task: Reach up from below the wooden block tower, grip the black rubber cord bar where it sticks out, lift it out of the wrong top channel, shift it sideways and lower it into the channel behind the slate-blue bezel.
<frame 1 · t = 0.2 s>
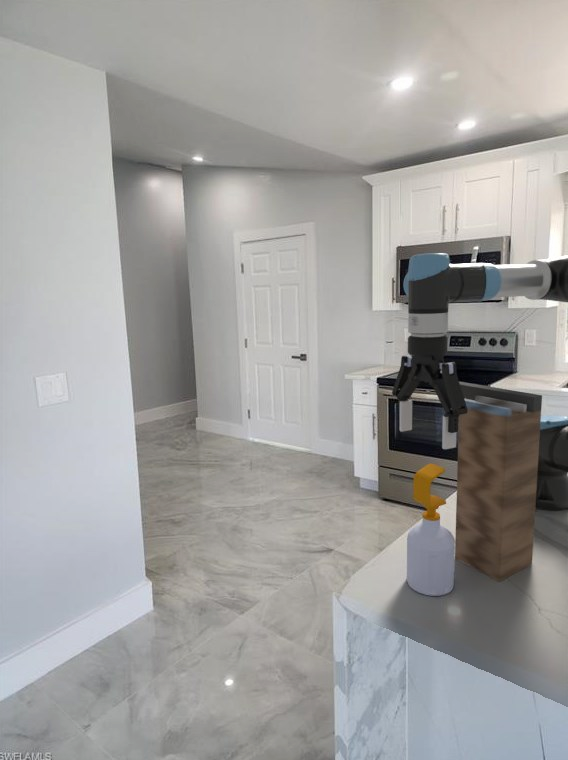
hand: (426, 438, 103), 28 cm above the counter, tool pointing down, fingers open, 13 cm apart
soap bottle: (429, 584, 101), on the counter
wooden block tower: (492, 560, 108), on the counter
cord bar: (490, 402, 107), point 34 cm above the counter, touching wooden block tower
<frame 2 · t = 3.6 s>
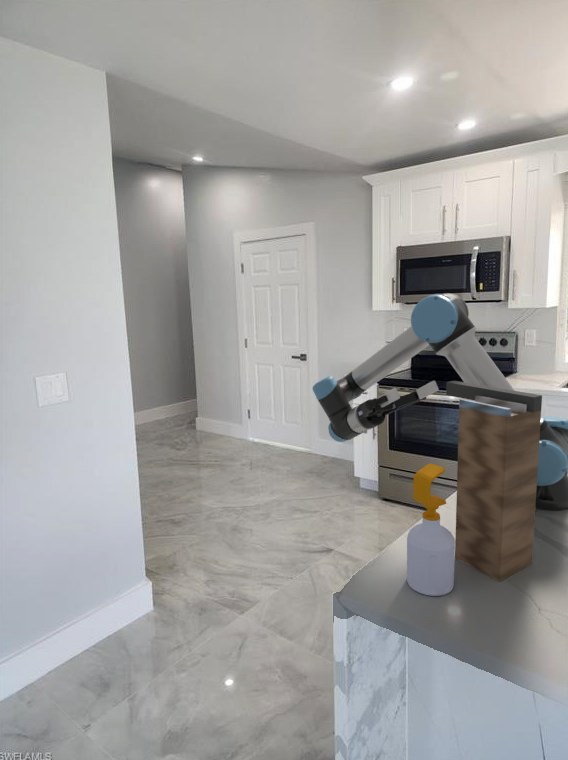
hand: (417, 389, 124), 34 cm above the counter, tool pointing upward, fingers open, 13 cm apart
nothing on the counter moved.
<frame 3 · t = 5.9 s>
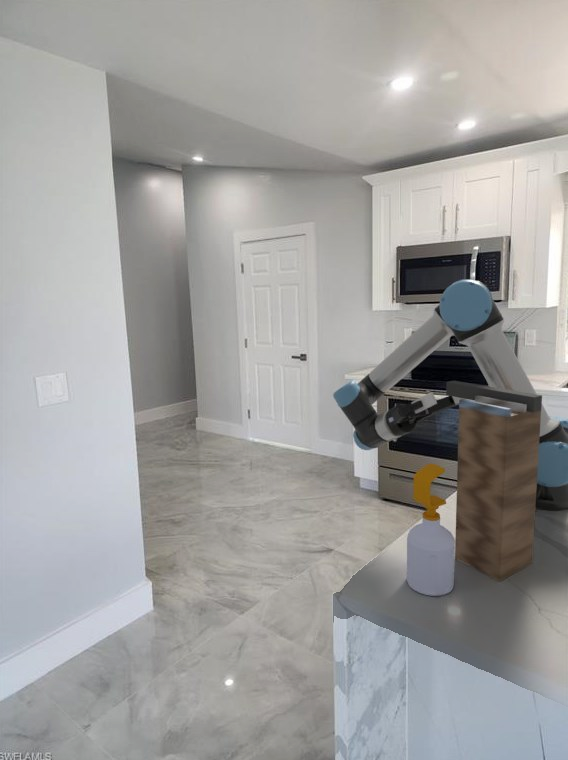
hand: (454, 393, 113), 35 cm above the counter, tool pointing upward, fingers open, 13 cm apart
nothing on the counter moved.
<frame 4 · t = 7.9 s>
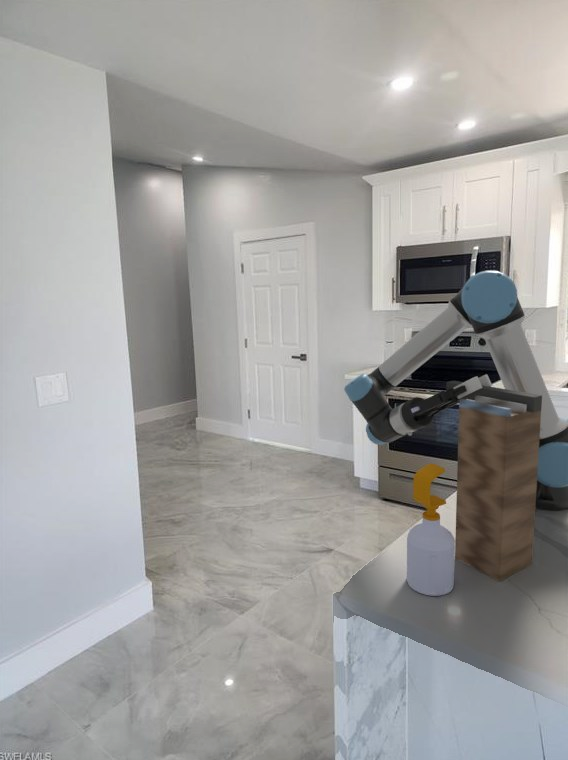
hand: (483, 381, 107), 38 cm above the counter, tool pointing upward, fingers closed on cord bar, 3 cm apart
cord bar: (490, 402, 107), point 34 cm above the counter, touching wooden block tower, gripper
everything else where it was.
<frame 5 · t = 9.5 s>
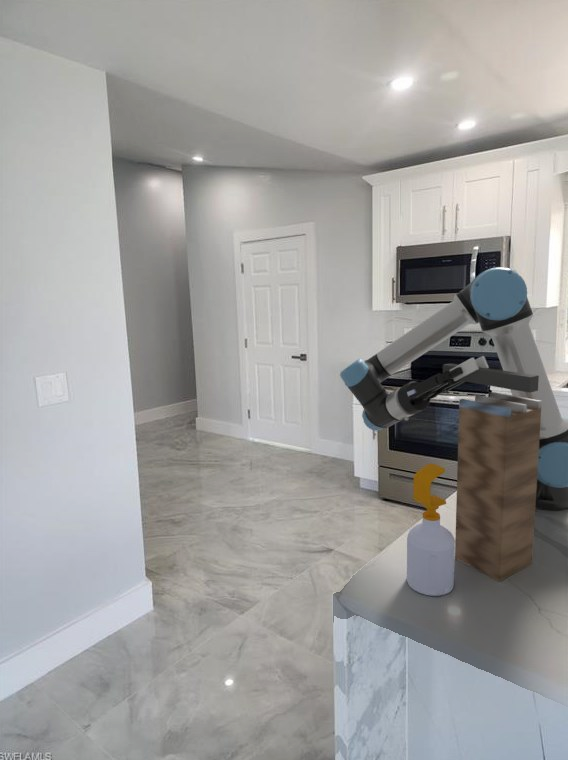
hand: (480, 362, 106), 42 cm above the counter, tool pointing upward, fingers closed on cord bar, 3 cm apart
cord bar: (486, 383, 105), point 38 cm above the counter, touching gripper
everything else where it was.
when the fingers open (39 cm above the counter, at t = 11.4 s): cord bar stays where it is, resting on wooden block tower.
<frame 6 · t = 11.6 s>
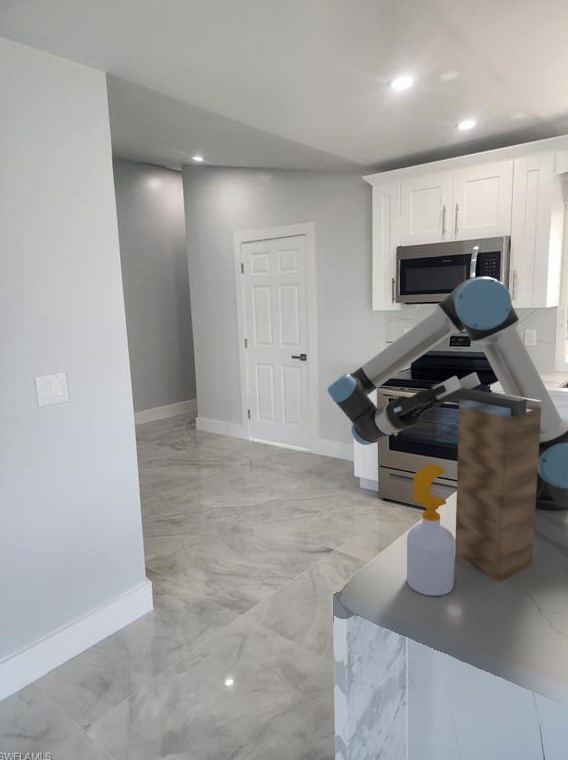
hand: (467, 380, 105), 39 cm above the counter, tool pointing upward, fingers open, 5 cm apart
cord bar: (474, 405, 104), point 34 cm above the counter, touching wooden block tower
everything else where it was.
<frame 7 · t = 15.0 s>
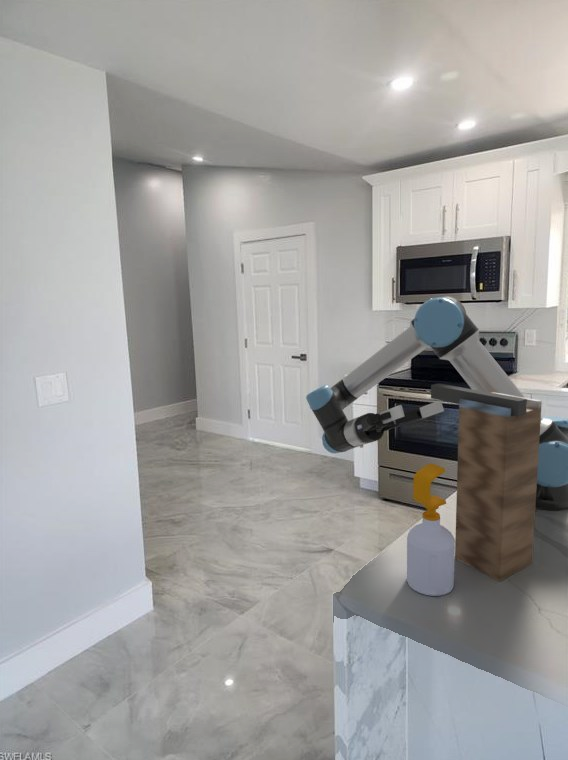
hand: (422, 408, 118), 30 cm above the counter, tool pointing upward, fingers open, 13 cm apart
nothing on the counter moved.
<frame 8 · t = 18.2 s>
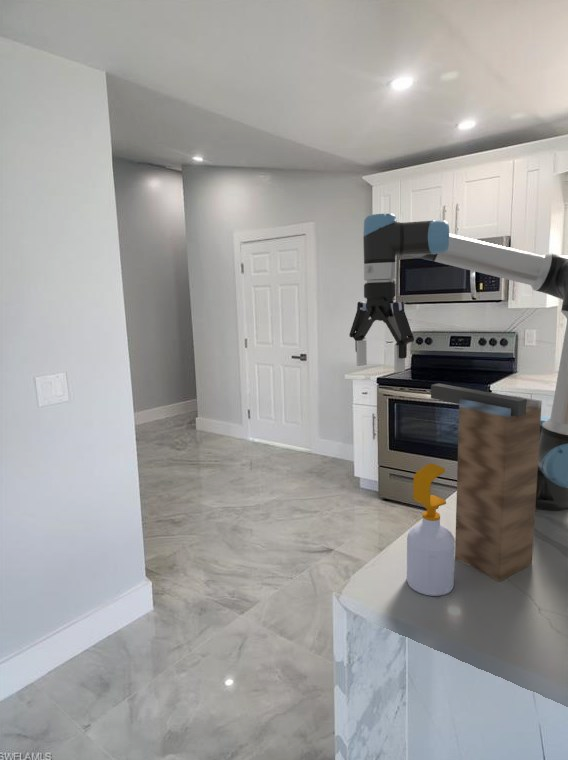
hand: (379, 368, 125), 39 cm above the counter, tool pointing down, fingers open, 13 cm apart
nothing on the counter moved.
at the end: cord bar 0.1 cm from the target spot on the wooden block tower, point 34.0 cm above the wooden block tower's base; cord bar tilted 0°; the gripper is holding nothing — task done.
